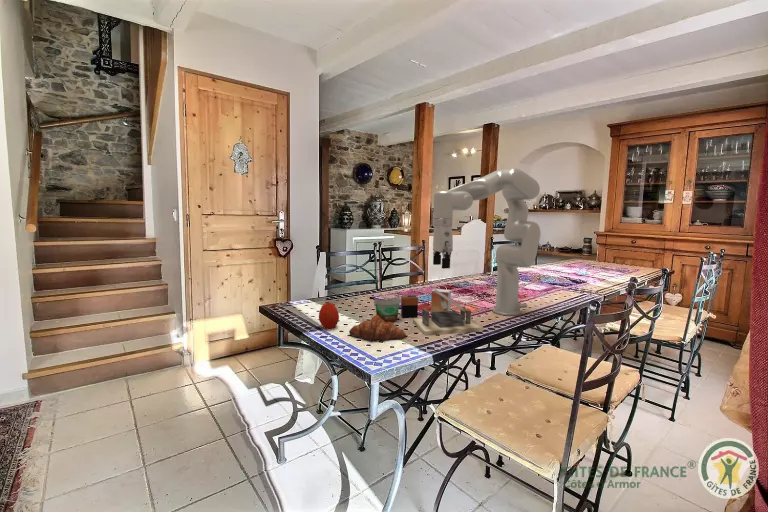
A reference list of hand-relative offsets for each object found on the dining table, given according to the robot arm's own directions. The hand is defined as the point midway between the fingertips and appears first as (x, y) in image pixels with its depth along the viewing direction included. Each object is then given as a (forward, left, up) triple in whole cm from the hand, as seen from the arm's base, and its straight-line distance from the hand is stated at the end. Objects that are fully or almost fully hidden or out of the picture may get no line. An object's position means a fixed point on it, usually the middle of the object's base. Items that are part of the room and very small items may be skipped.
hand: (441, 266), depth 146 cm
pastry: (+27, +5, -25) cm, 37 cm away
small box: (-8, -20, -25) cm, 33 cm away
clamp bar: (-4, 0, -15) cm, 16 cm away
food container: (+18, -12, -25) cm, 33 cm away
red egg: (+44, -9, -25) cm, 52 cm away
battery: (+8, -17, -25) cm, 31 cm away
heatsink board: (-3, 0, -25) cm, 25 cm away
